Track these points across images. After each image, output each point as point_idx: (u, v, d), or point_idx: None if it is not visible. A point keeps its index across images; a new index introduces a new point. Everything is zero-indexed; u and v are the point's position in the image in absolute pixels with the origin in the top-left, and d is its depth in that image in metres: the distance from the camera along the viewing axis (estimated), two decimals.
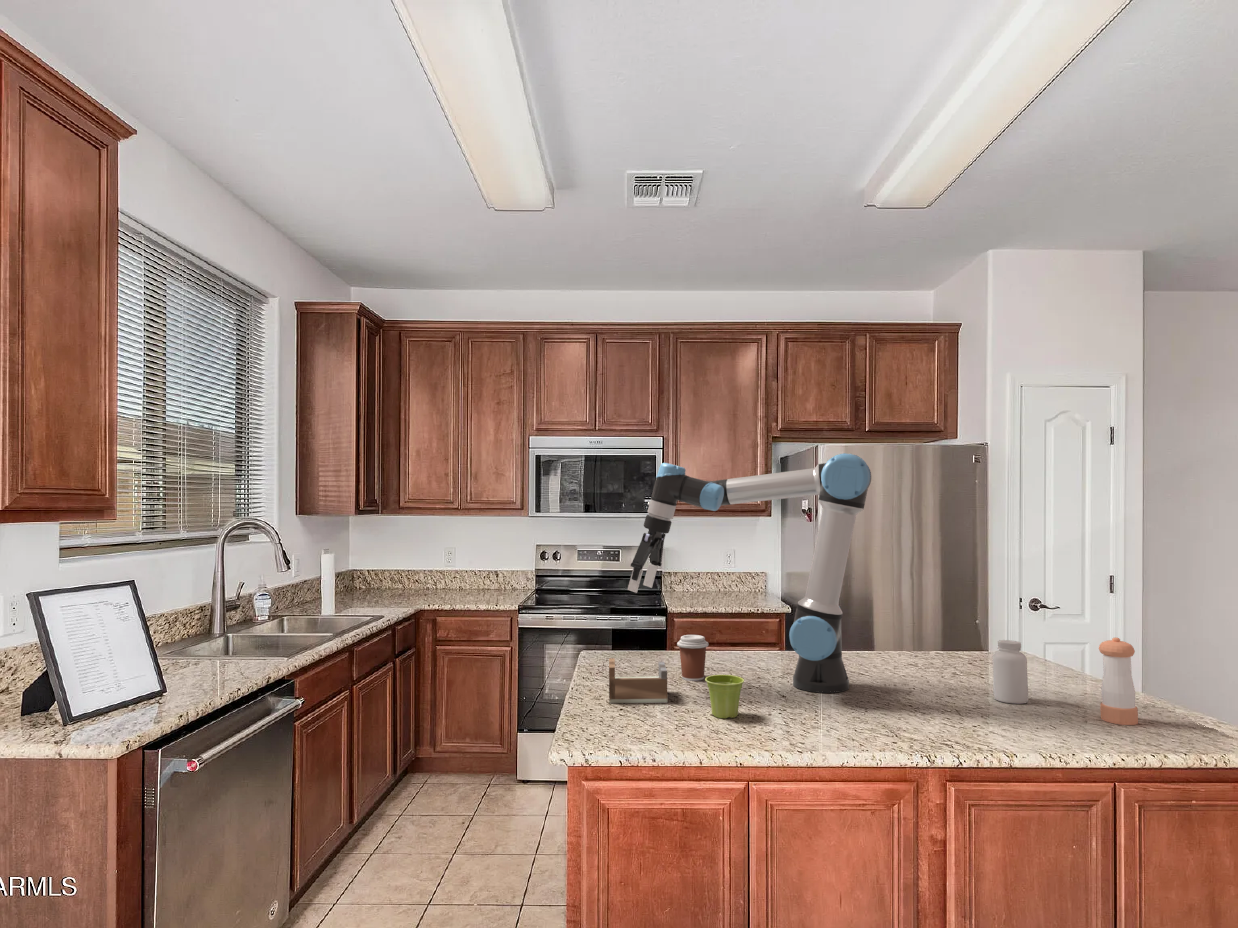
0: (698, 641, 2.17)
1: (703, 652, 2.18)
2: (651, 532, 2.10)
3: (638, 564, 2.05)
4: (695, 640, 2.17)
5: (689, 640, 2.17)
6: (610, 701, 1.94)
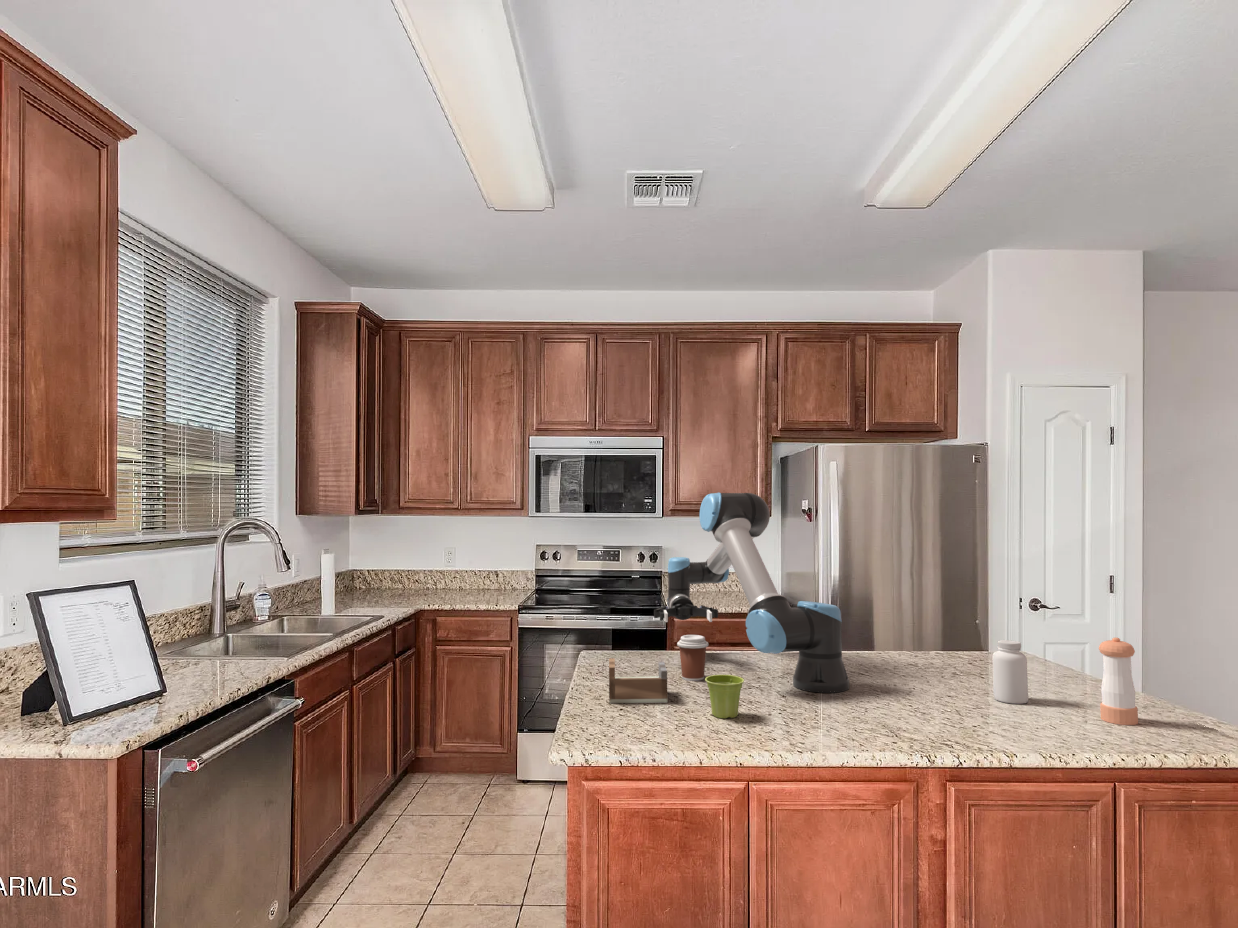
0: (698, 641, 2.17)
1: (703, 652, 2.18)
2: None
3: None
4: (695, 640, 2.17)
5: (689, 640, 2.17)
6: (610, 701, 1.94)
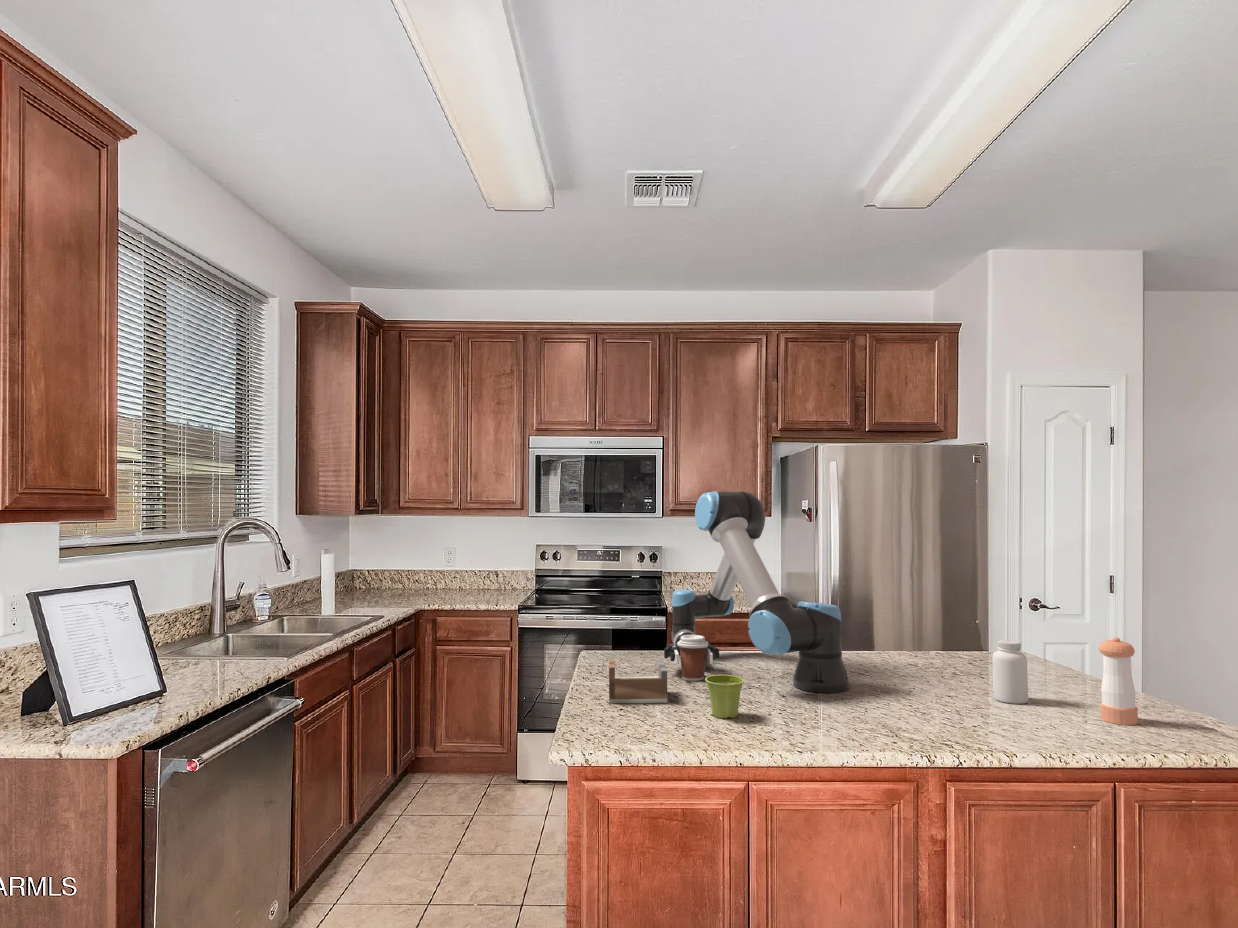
0: (698, 641, 2.17)
1: (703, 652, 2.18)
2: None
3: None
4: (695, 640, 2.17)
5: (689, 640, 2.17)
6: (610, 701, 1.94)
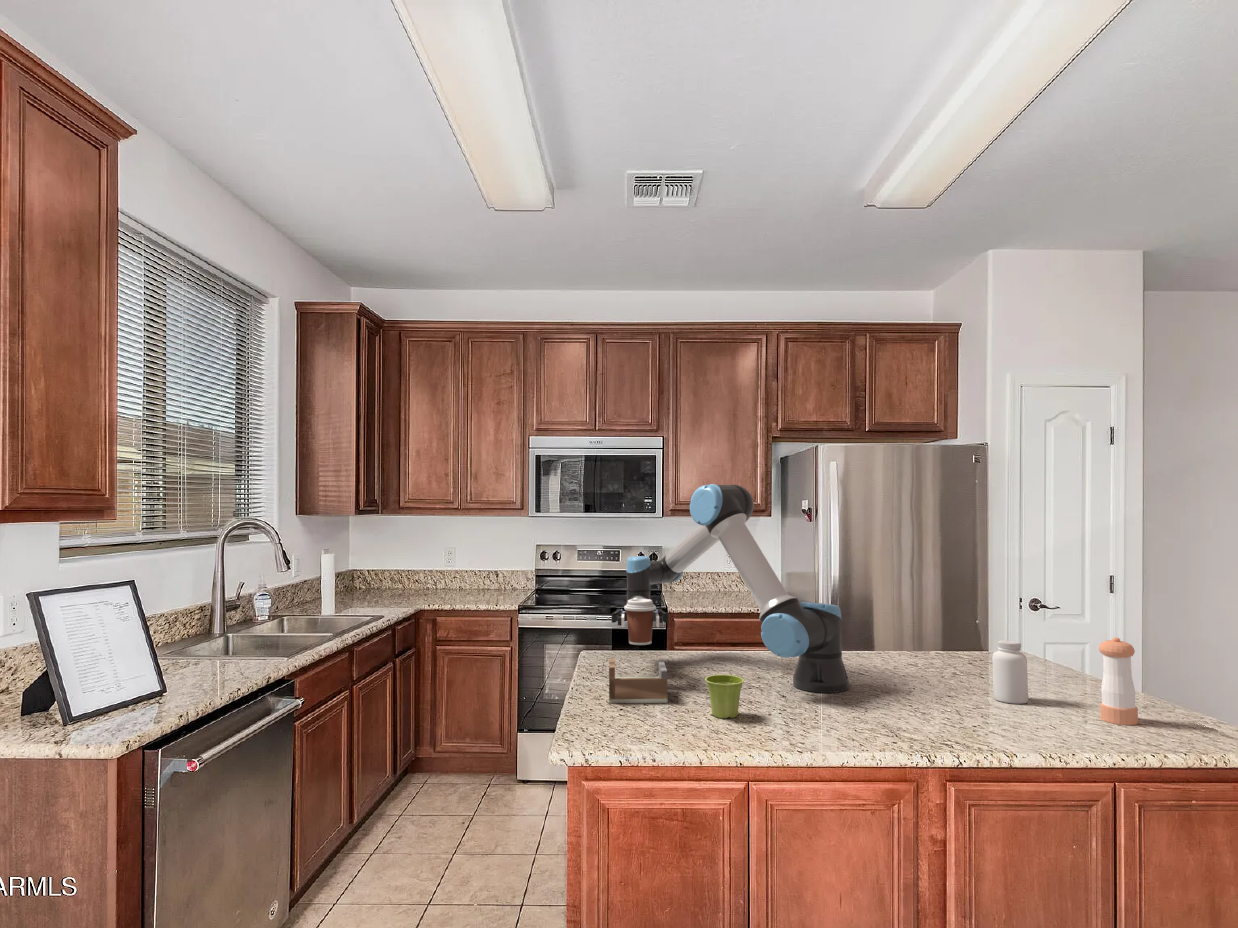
0: (645, 604, 2.11)
1: (650, 615, 2.11)
2: None
3: None
4: (641, 603, 2.11)
5: (635, 603, 2.11)
6: (610, 701, 1.94)
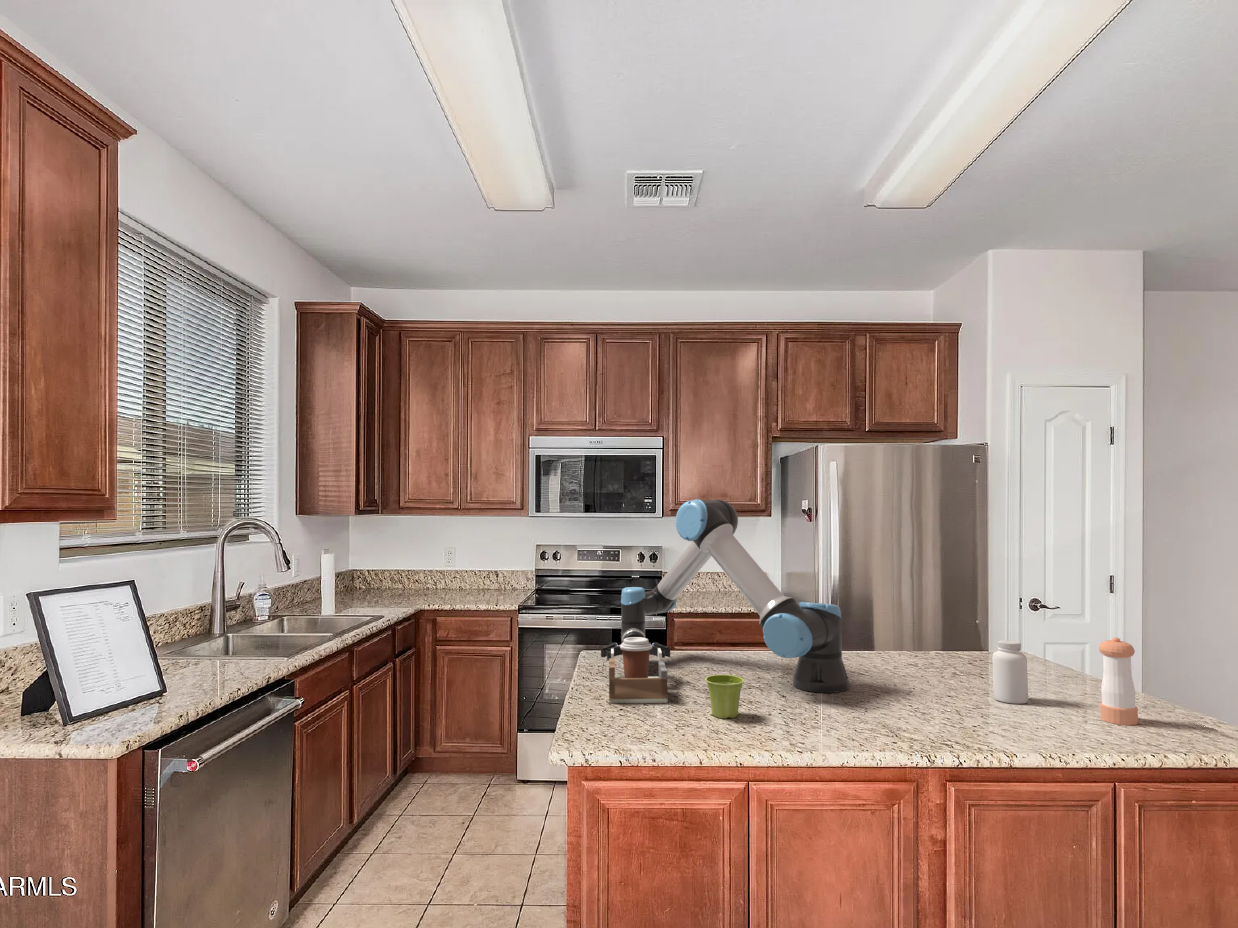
0: (641, 644, 2.09)
1: (646, 655, 2.09)
2: None
3: None
4: (637, 643, 2.08)
5: (631, 643, 2.09)
6: (610, 701, 1.94)
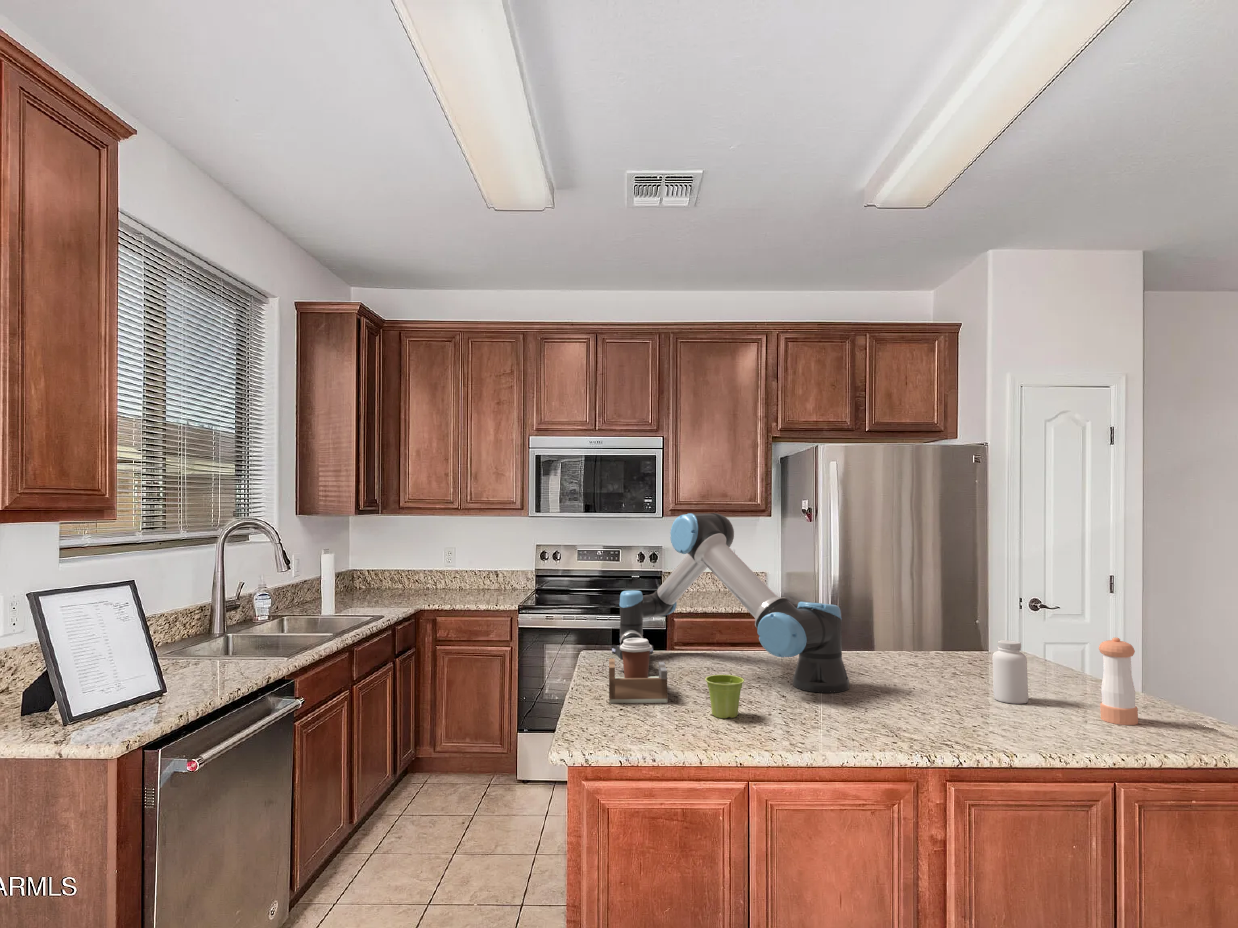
0: (640, 644, 2.07)
1: (646, 656, 2.08)
2: None
3: None
4: (637, 643, 2.07)
5: (631, 643, 2.07)
6: (610, 701, 1.94)
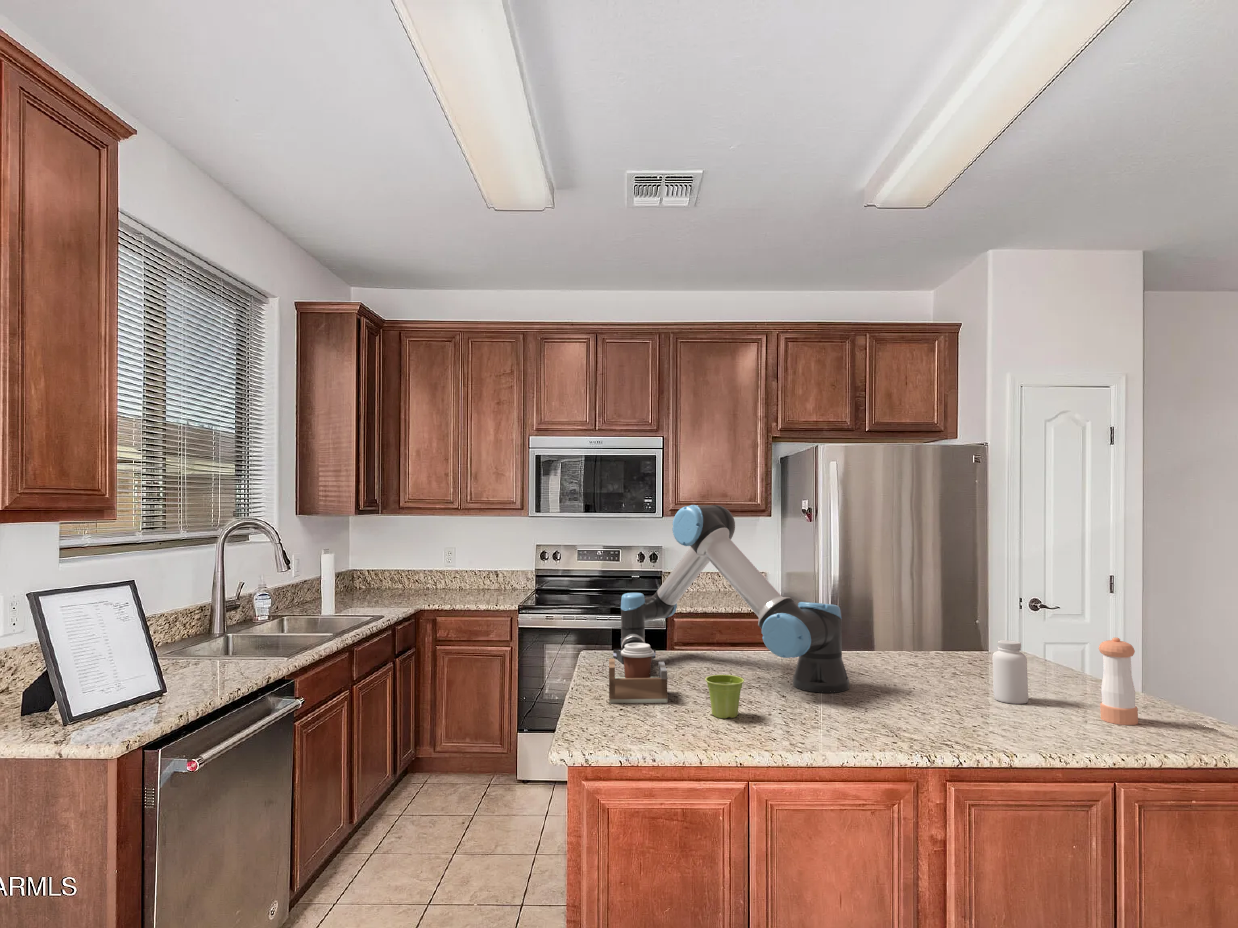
0: (641, 650, 2.00)
1: (647, 662, 2.00)
2: None
3: None
4: (638, 649, 2.00)
5: (631, 649, 2.00)
6: (610, 701, 1.94)
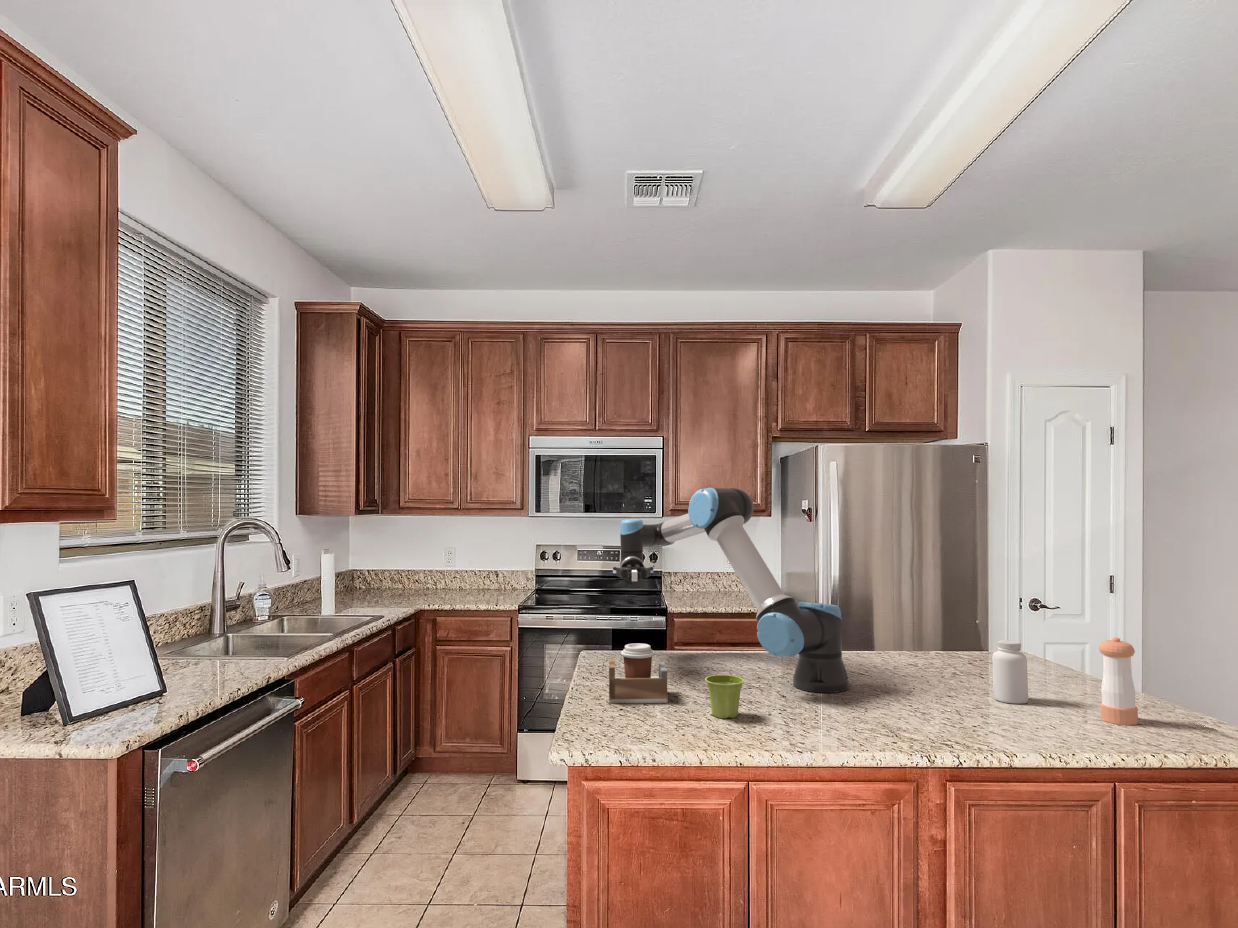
0: (642, 650, 1.99)
1: (648, 662, 2.00)
2: None
3: None
4: (638, 649, 1.99)
5: (632, 649, 1.99)
6: (610, 701, 1.94)
